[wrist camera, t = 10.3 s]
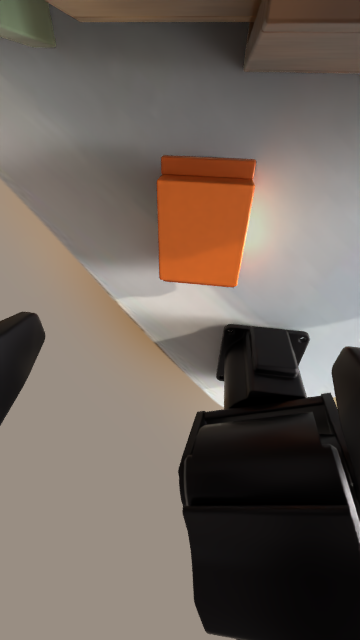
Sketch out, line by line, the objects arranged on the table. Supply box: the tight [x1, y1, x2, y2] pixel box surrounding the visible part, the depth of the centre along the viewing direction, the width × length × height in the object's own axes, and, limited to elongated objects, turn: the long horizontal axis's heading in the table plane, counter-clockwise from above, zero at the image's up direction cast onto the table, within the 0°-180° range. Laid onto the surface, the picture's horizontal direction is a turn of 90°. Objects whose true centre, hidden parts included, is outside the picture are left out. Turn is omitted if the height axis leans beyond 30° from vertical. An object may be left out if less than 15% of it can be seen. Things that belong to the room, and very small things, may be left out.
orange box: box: [157, 155, 256, 287], centre depth 15 cm, size 5×7×3 cm
